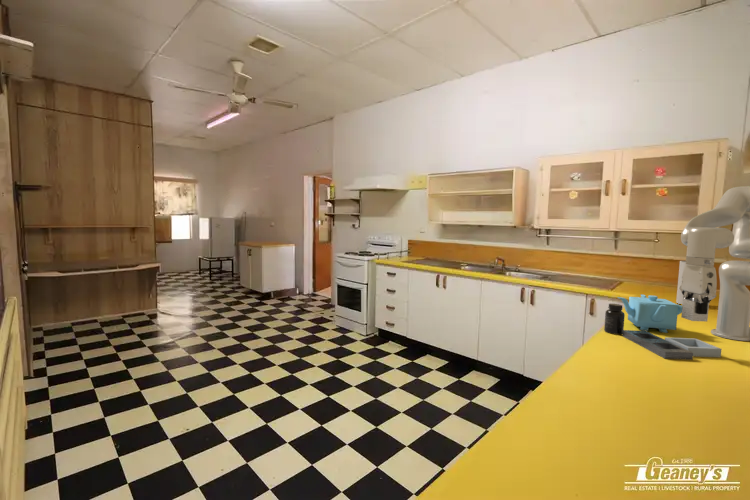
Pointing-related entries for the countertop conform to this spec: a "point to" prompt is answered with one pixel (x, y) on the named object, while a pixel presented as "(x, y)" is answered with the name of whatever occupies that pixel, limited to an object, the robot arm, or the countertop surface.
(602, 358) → the countertop surface
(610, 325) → the supplement bottle
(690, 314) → the beige block with knob
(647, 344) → the rail
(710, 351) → the parts tray
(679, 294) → the cylinder vase
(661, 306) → the teakettle
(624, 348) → the countertop surface
